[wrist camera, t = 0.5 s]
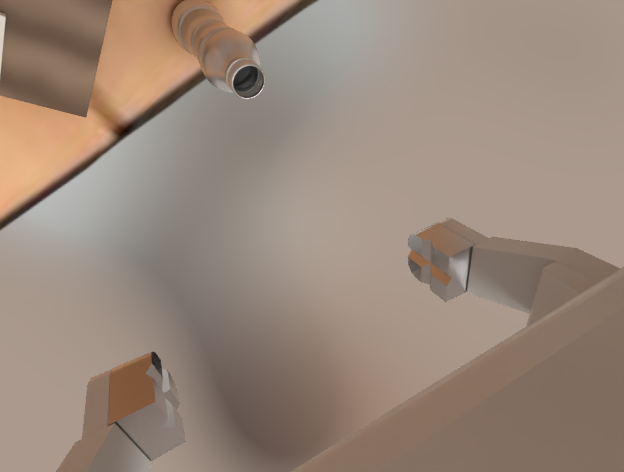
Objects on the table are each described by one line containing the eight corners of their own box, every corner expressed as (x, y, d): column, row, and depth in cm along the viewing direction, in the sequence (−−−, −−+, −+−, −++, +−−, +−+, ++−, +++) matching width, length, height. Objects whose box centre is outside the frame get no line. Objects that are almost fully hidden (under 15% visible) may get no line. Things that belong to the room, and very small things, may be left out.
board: (-146, -184, 27) (-160, -185, 25) (114, -40, 39) (119, -33, 37) (-128, 46, 35) (-137, 60, 33) (83, 105, 47) (86, 117, 45)
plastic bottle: (158, 1, 43) (207, 61, 32) (209, -13, 45) (272, 39, 34) (178, 54, 48) (227, 121, 37) (223, 39, 50) (282, 100, 39)
